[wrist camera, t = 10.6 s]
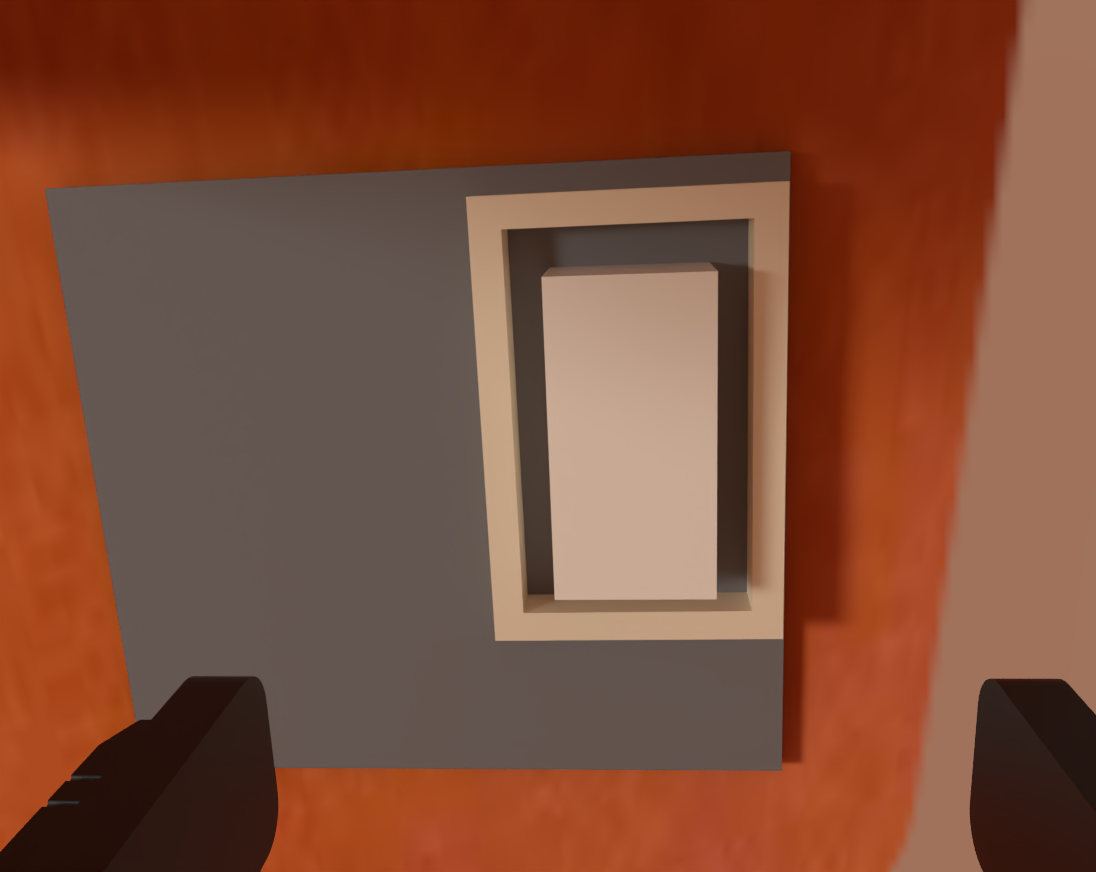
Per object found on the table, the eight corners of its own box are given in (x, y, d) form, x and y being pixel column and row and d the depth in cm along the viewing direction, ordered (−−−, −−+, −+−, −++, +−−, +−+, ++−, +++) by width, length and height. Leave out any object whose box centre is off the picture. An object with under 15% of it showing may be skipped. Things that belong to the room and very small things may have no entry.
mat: (153, 755, 30) (123, 790, 28) (57, 188, 26) (16, 189, 24) (778, 758, 28) (788, 796, 27) (787, 151, 24) (799, 149, 22)
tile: (549, 267, 25) (541, 276, 22) (709, 262, 24) (717, 271, 22) (561, 561, 27) (554, 599, 24) (708, 560, 26) (716, 599, 24)
